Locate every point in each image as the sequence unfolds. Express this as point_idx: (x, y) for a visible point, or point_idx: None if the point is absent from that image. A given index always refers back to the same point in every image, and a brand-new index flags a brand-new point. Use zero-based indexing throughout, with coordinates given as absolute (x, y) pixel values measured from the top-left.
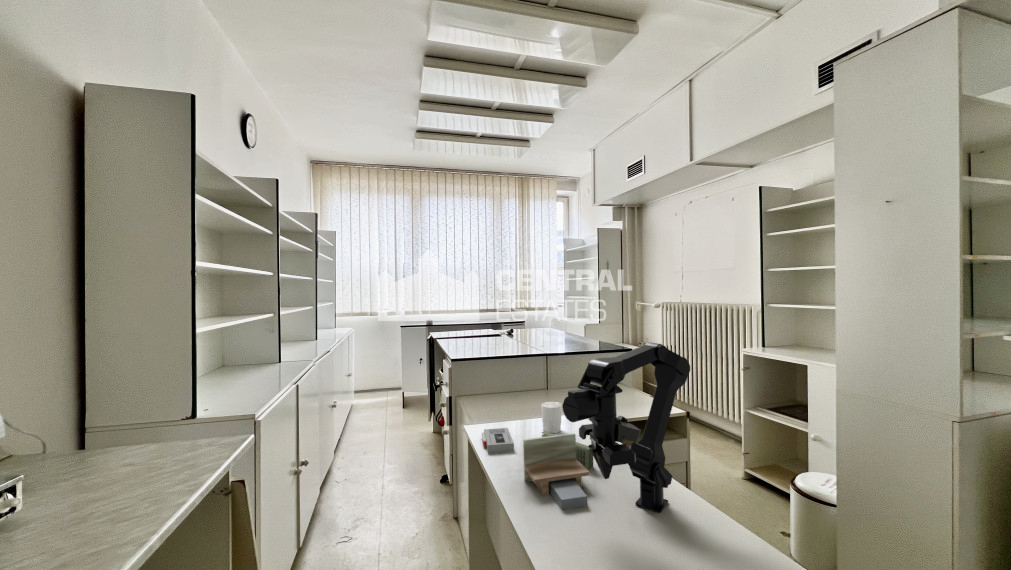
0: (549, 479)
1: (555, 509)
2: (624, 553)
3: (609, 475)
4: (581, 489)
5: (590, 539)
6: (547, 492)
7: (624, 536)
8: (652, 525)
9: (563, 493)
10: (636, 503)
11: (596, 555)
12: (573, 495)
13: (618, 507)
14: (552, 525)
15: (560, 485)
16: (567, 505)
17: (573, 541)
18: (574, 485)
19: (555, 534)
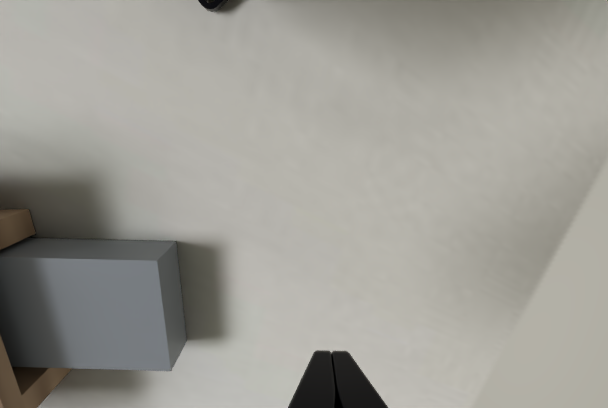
0: (12, 399)
1: (181, 358)
2: (511, 248)
3: (362, 375)
4: (86, 260)
5: (394, 318)
6: None
7: (424, 198)
8: (398, 30)
9: (117, 347)
10: (214, 6)
11: (479, 334)
12: (140, 314)
13: (213, 113)
14: (279, 396)
15: (38, 334)
16: (179, 329)
17: (385, 369)
18: (42, 276)
19: None
